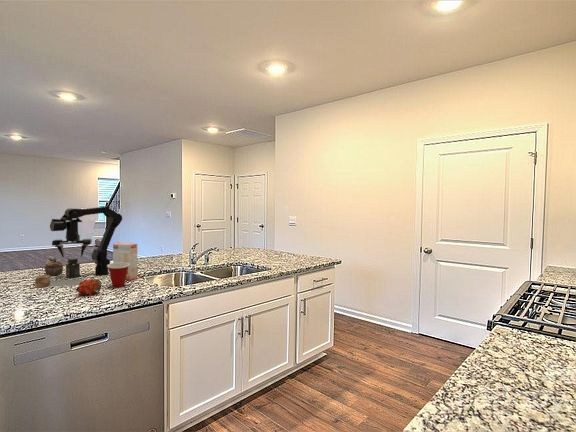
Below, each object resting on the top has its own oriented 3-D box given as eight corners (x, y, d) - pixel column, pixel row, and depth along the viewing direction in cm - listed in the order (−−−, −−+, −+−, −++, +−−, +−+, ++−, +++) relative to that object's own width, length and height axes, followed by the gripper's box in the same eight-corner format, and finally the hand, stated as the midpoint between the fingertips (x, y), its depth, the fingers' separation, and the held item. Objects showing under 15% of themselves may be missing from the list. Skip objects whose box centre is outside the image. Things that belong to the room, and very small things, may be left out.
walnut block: (49, 284, 178) (49, 275, 178) (47, 286, 173) (46, 277, 173) (38, 285, 176) (38, 275, 176) (35, 287, 172) (35, 277, 171)
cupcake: (66, 274, 207) (66, 258, 206) (48, 277, 199) (48, 260, 198) (59, 272, 212) (59, 256, 211) (41, 275, 204) (41, 258, 203)
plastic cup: (107, 289, 174) (106, 266, 174) (107, 284, 184) (107, 263, 183) (130, 287, 179) (129, 265, 179) (129, 282, 189) (129, 261, 188)
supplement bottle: (63, 279, 193) (62, 259, 193) (74, 277, 200) (74, 257, 199) (71, 281, 191) (71, 260, 190) (82, 278, 197) (82, 258, 197)
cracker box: (138, 278, 199) (137, 243, 198) (129, 280, 194) (129, 244, 193) (121, 276, 205) (121, 242, 204) (112, 278, 200) (112, 243, 198)
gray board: (84, 281, 191) (84, 278, 191) (79, 287, 178) (79, 284, 178) (42, 283, 184) (42, 281, 184) (34, 290, 171) (33, 287, 171)
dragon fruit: (104, 295, 170) (78, 303, 161) (97, 283, 174) (71, 291, 165) (106, 284, 166) (79, 292, 157) (98, 272, 169) (72, 279, 160)
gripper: (93, 228, 205) (93, 254, 206) (56, 229, 198) (57, 255, 199) (89, 230, 194) (90, 257, 195) (51, 230, 187) (52, 258, 188)
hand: (72, 256), depth 195 cm, fingers open, 9 cm apart
